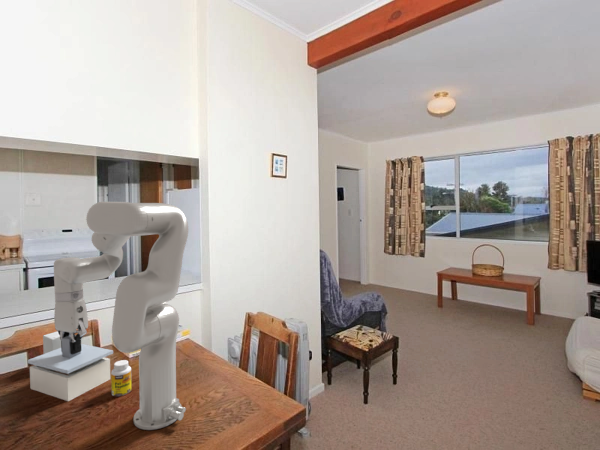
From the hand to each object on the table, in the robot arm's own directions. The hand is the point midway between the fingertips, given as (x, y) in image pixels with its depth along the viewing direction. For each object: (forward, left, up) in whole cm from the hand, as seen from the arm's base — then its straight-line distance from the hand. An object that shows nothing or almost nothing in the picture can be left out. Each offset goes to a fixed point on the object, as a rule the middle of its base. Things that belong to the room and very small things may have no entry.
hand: (71, 351), depth 109 cm
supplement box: (+17, -7, -12) cm, 22 cm away
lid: (0, 0, -2) cm, 2 cm away
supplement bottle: (-19, -3, -12) cm, 22 cm away
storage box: (0, 0, -12) cm, 12 cm away
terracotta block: (+4, +2, -11) cm, 12 cm away
